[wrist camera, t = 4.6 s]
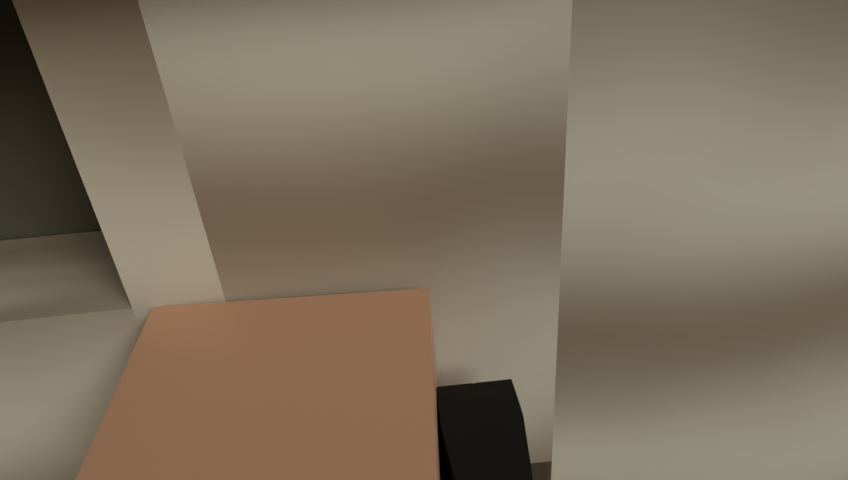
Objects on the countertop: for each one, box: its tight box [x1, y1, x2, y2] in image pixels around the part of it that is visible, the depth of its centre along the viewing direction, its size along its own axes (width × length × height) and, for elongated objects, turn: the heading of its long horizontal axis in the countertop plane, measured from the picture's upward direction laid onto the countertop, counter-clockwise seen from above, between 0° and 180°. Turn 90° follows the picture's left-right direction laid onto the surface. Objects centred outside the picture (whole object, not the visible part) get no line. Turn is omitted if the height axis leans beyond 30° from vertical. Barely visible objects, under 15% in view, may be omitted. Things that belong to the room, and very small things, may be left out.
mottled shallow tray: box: [0, 0, 848, 480], centre depth 13 cm, size 18×24×4 cm
